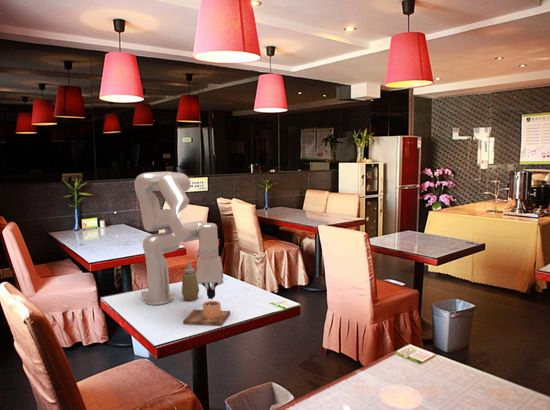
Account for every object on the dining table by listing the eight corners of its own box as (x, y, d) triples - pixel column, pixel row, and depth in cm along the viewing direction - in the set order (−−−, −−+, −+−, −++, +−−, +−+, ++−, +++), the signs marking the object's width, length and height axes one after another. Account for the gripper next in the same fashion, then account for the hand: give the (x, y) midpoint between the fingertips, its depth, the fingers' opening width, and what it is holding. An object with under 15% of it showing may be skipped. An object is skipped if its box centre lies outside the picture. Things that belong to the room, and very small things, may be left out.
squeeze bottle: (201, 295, 199) (199, 259, 197) (196, 301, 191) (194, 263, 189) (185, 295, 200) (183, 259, 198) (179, 301, 192) (177, 263, 190)
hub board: (183, 324, 166) (182, 309, 165) (194, 312, 178) (193, 299, 177) (221, 325, 163) (221, 311, 162) (230, 314, 175) (229, 300, 174)
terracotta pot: (207, 312, 174) (206, 299, 173) (222, 313, 172) (221, 300, 172) (201, 318, 167) (201, 304, 167) (217, 318, 166) (216, 305, 166)
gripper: (187, 256, 164) (190, 300, 166) (224, 256, 162) (226, 301, 164) (194, 251, 172) (197, 294, 174) (229, 251, 169) (231, 295, 171)
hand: (211, 297), depth 169 cm, fingers closed
